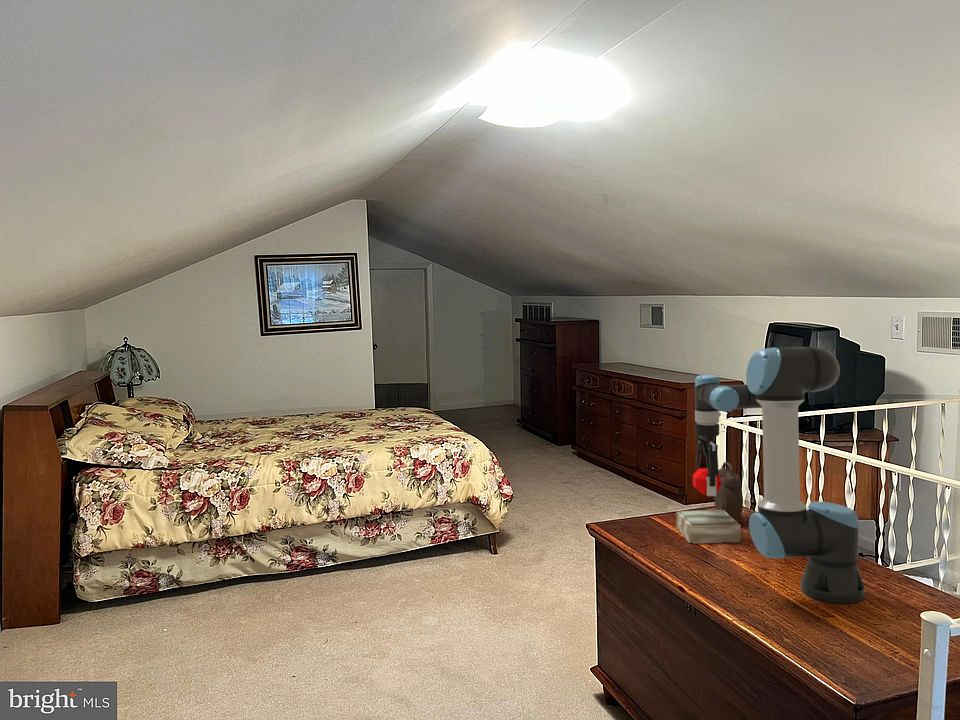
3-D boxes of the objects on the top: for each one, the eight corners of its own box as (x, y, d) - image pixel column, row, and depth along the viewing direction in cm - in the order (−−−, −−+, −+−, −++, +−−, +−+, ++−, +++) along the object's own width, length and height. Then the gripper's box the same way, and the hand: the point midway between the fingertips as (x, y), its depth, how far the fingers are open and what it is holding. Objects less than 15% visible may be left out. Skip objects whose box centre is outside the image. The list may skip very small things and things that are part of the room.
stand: (740, 542, 234) (740, 523, 233) (689, 543, 234) (689, 525, 233) (723, 526, 250) (723, 508, 249) (676, 527, 250) (676, 510, 249)
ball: (722, 496, 236) (723, 472, 236) (697, 496, 237) (697, 473, 236) (715, 489, 244) (715, 466, 244) (690, 489, 244) (691, 467, 244)
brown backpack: (746, 526, 249) (746, 467, 247) (724, 526, 249) (724, 468, 248) (732, 513, 264) (732, 458, 262) (712, 513, 264) (712, 458, 262)
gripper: (729, 428, 228) (729, 500, 230) (708, 417, 249) (708, 483, 251) (705, 429, 228) (705, 501, 230) (686, 417, 249) (686, 484, 251)
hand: (707, 491), depth 240 cm, fingers closed on ball, 8 cm apart
